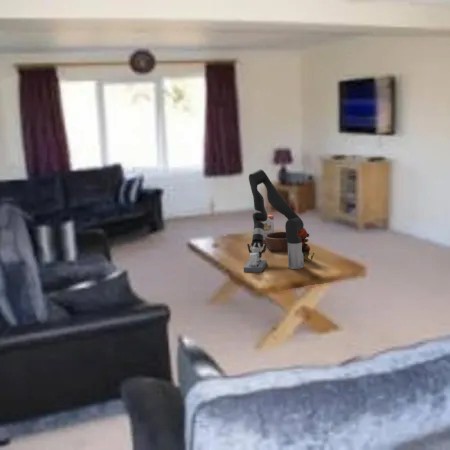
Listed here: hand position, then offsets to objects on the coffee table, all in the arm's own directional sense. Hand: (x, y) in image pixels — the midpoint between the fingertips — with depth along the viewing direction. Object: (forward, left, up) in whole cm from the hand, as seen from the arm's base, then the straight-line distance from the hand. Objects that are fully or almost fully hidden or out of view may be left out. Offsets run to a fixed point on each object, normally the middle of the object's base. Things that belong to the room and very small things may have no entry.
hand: (256, 257), depth 450 cm
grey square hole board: (+3, +3, -6) cm, 7 cm away
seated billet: (+7, +7, -6) cm, 11 cm away
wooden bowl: (-43, -27, -6) cm, 52 cm away
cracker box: (-46, -53, -6) cm, 71 cm away
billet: (-1, -1, -5) cm, 5 cm away
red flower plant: (-33, +9, -6) cm, 35 cm away
